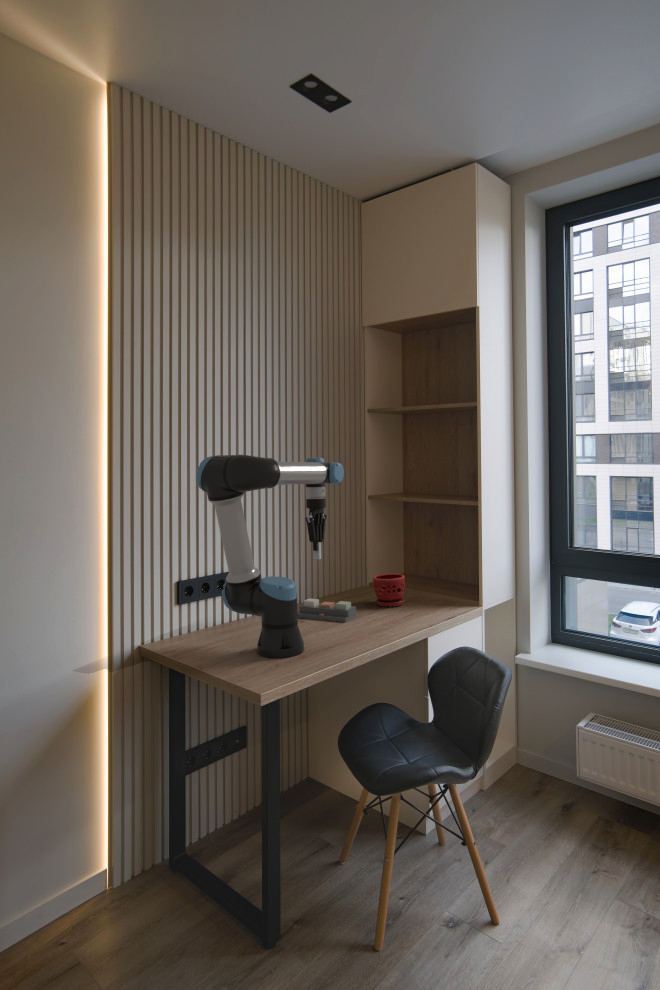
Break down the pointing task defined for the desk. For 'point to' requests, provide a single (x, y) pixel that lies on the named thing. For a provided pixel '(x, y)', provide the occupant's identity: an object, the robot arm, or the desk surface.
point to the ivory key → (311, 602)
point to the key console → (326, 613)
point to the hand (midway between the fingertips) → (317, 558)
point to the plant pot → (389, 589)
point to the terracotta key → (327, 605)
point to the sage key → (343, 605)
